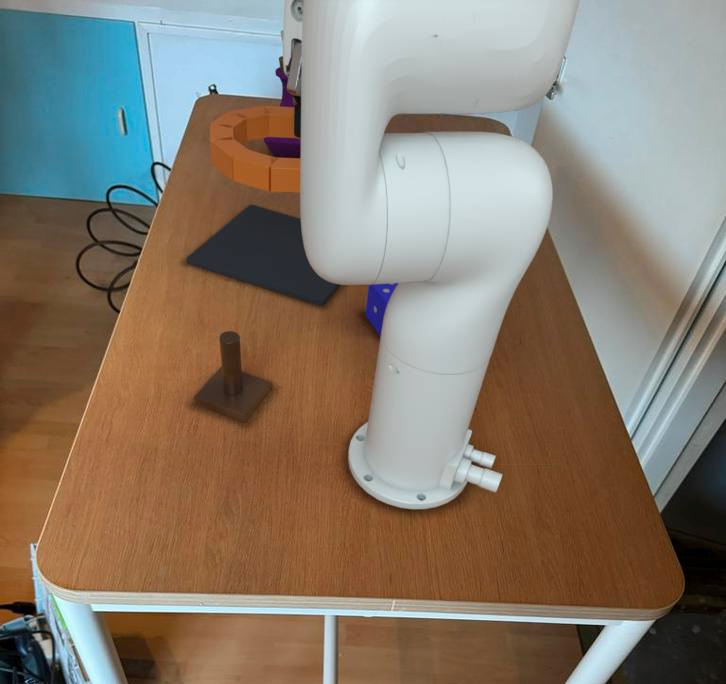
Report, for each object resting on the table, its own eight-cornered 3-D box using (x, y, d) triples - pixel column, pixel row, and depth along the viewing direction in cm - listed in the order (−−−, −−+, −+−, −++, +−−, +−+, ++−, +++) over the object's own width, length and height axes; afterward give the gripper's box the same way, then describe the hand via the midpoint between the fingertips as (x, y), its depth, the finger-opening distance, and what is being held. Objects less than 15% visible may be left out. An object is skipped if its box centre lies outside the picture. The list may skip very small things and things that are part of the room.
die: (364, 315, 82) (368, 280, 78) (399, 309, 84) (404, 275, 80) (381, 338, 79) (386, 303, 75) (416, 331, 81) (423, 297, 77)
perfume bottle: (307, 165, 109) (312, 42, 96) (263, 160, 109) (261, 36, 95) (310, 147, 114) (315, 27, 100) (268, 142, 113) (267, 21, 100)
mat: (372, 245, 94) (373, 240, 93) (322, 306, 82) (323, 301, 82) (250, 209, 97) (250, 203, 97) (186, 263, 86) (186, 257, 85)
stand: (271, 389, 71) (270, 330, 65) (245, 423, 67) (241, 362, 61) (223, 373, 72) (218, 312, 66) (194, 405, 68) (186, 344, 62)
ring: (377, 151, 85) (380, 129, 83) (322, 207, 73) (323, 183, 71) (254, 117, 88) (254, 95, 86) (182, 166, 76) (180, 141, 74)
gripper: (319, -21, 65) (311, 163, 79) (375, -46, 76) (360, 121, 90) (253, -36, 67) (257, 148, 81) (317, -59, 77) (311, 108, 91)
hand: (311, 132), depth 85 cm, fingers closed on ring, 2 cm apart
